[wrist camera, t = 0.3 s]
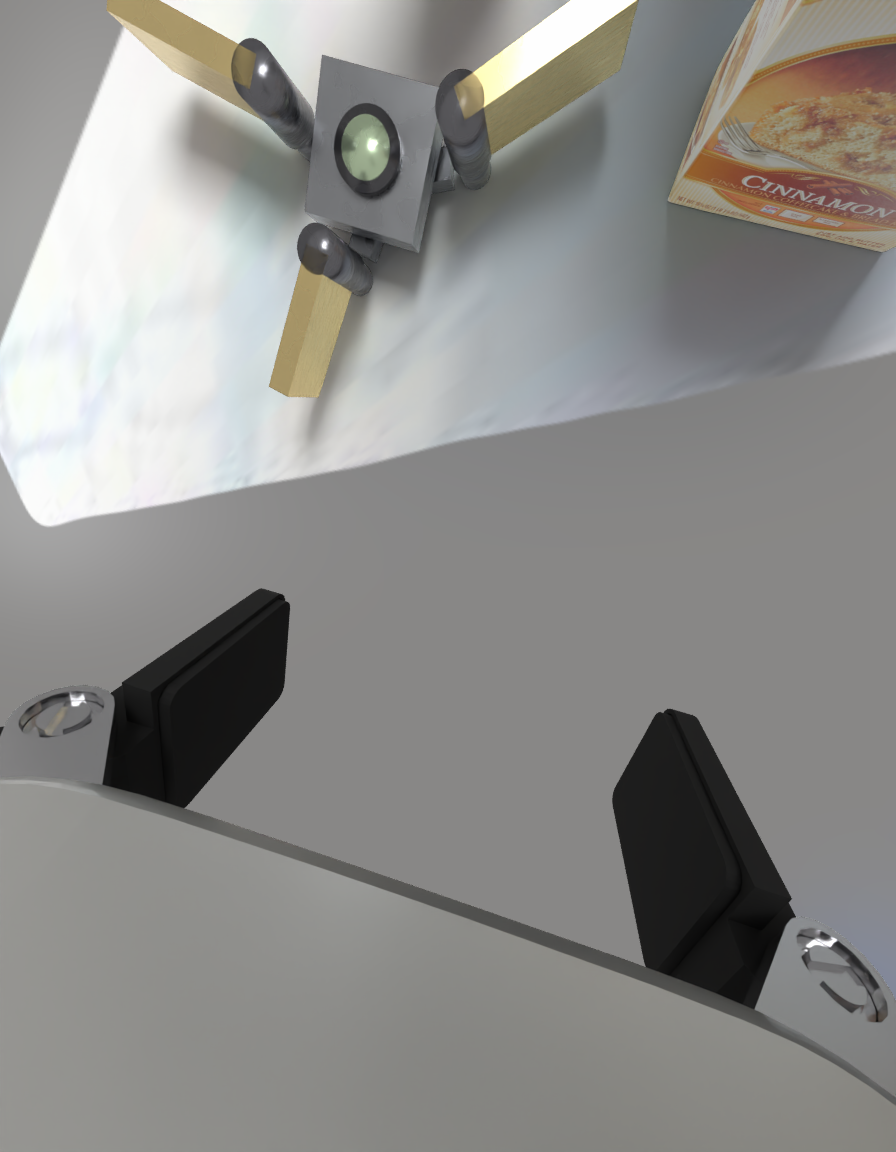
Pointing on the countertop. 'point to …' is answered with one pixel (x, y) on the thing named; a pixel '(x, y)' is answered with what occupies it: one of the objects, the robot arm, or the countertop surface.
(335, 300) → the tan block
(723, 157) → the coffeecake box
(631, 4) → the knob
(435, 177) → the tribrach base
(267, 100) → the brushed brass bar
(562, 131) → the countertop surface
